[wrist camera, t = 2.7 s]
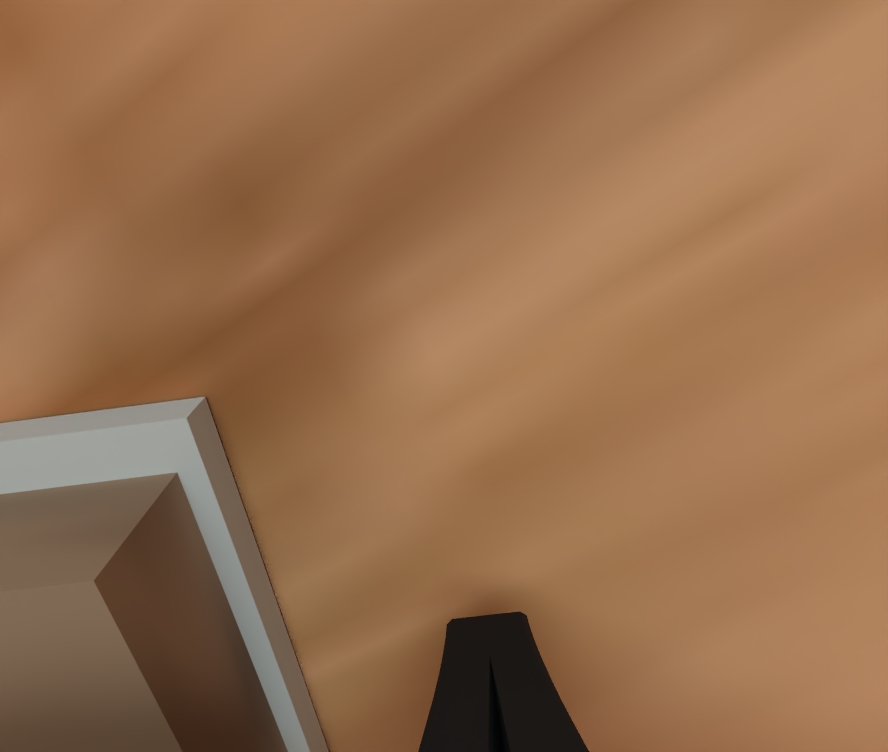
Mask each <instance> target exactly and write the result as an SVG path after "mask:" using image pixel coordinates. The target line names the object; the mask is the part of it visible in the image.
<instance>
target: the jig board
mask: <svg viewBox="0 0 888 752" xmlns="http://www.w3.org/2000/svg"><path fill="white" fill-rule="evenodd" d="M176 472H177V473H178V476H179V478H180V481H181V483H182V486H183V489H184V491H185V494H186V496H187V499H188V501H189V504H190V506H191V509H192V511H193V514H194V516H195V519H196V521H197V524H198V526H199V529H200V531H201V534H202V536H203V539H204V541H205V544H206V546H207V549H208V552H209V554H210V557H211V559H212V562H213V564H214V567H215V569H216V572H217V574H218V577H219V579H220V582H221V584H222V587H223V589H224V592H225V594H226V597H227V599H228V602H229V604H230V607H231V609H232V612H233V615H234V617H235V620H236V622H237V625H238V627H239V630H240V632H241V635H242V637H243V640H244V642H245V645H246V647H247V650H248V652H249V655H250V657H251V660H252V662H253V665H254V667H255V670H256V673H257V675H258V678H259V680H260V683H261V685H262V688H263V690H264V693H265V695H266V698H267V700H268V703H269V705H270V708H271V710H272V713H273V715H274V718H275V720H276V723H277V725H278V728H279V730H280V733H281V736H282V738H283V741H284V743H285V746H286V748H287V751H288V752H329V750H328V747H327V745H326V742H325V739H324V736H323V733H322V730H321V727H320V725H319V722H318V719H317V716H316V713H315V710H314V707H313V704H312V702H311V699H310V696H309V693H308V690H307V687H306V684H305V681H304V679H303V676H302V673H301V670H300V667H299V664H298V661H297V659H296V656H295V653H294V650H293V647H292V644H291V641H290V638H289V636H288V633H287V630H286V627H285V624H284V621H283V618H282V615H281V613H280V610H279V607H278V604H277V601H276V598H275V595H274V593H273V590H272V587H271V584H270V581H269V578H268V575H267V572H266V570H265V567H264V564H263V561H262V558H261V555H260V552H259V549H258V547H257V544H256V541H255V538H254V535H253V532H252V529H251V526H250V524H249V521H248V518H247V515H246V512H245V509H244V506H243V504H242V501H241V498H240V495H239V492H238V489H237V486H236V483H235V481H234V478H233V475H232V472H231V469H230V466H229V463H228V460H227V458H226V455H225V452H224V449H223V446H222V443H221V440H220V438H219V435H218V432H217V429H216V426H215V423H214V420H213V417H212V415H211V412H210V409H209V406H208V403H207V400H206V397H199V398H192V399H184V400H176V401H169V402H161V403H153V404H146V405H138V406H130V407H122V408H115V409H107V410H99V411H92V412H84V413H76V414H68V415H61V416H53V417H45V418H38V419H30V420H22V421H15V422H7V423H0V494H7V493H15V492H23V491H31V490H39V489H47V488H55V487H63V486H71V485H79V484H87V483H95V482H103V481H111V480H119V479H128V478H136V477H144V476H152V475H160V474H168V473H176Z"/></svg>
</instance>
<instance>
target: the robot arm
mask: <svg viewBox="0 0 888 752" xmlns="http://www.w3.org/2000/svg"><path fill="white" fill-rule="evenodd" d="M418 752H589V751H588V749H587V747H586V745H585V744H584V742H583V740H582V738H581V736H580V734H579V733H578V731H577V729H576V727H575V725H574V723H573V721H572V719H571V718H570V716H569V714H568V712H567V710H566V708H565V706H564V704H563V703H562V701H561V699H560V697H559V694H558V692H557V690H556V688H555V686H554V684H553V682H552V680H551V678H550V676H549V673H548V671H547V669H546V667H545V665H544V663H543V660H542V658H541V655H540V653H539V651H538V648H537V646H536V643H535V640H534V638H533V635H532V632H531V629H530V626H529V623H528V619H527V616H526V615H525V614H523V613H522V612H512V613H503V614H494V615H485V616H475V617H466V618H457V619H452V620H451V621H450V622H449V623H448V624H447V630H446V639H445V646H444V652H443V658H442V663H441V668H440V673H439V677H438V681H437V685H436V690H435V694H434V698H433V702H432V705H431V709H430V712H429V716H428V720H427V723H426V727H425V730H424V734H423V737H422V741H421V744H420V748H419V751H418Z"/></svg>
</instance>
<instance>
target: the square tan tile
mask: <svg viewBox="0 0 888 752" xmlns="http://www.w3.org/2000/svg"><path fill="white" fill-rule="evenodd" d="M0 752H288V751H287V748H286V746H285V743H284V741H283V738H282V736H281V733H280V730H279V728H278V725H277V723H276V720H275V718H274V715H273V713H272V710H271V708H270V705H269V703H268V700H267V698H266V695H265V693H264V690H263V688H262V685H261V683H260V680H259V678H258V675H257V673H256V670H255V667H254V665H253V662H252V660H251V657H250V655H249V652H248V650H247V647H246V645H245V642H244V640H243V637H242V635H241V632H240V630H239V627H238V625H237V622H236V620H235V617H234V615H233V612H232V609H231V607H230V604H229V602H228V599H227V597H226V594H225V592H224V589H223V587H222V584H221V582H220V579H219V577H218V574H217V572H216V569H215V567H214V564H213V562H212V559H211V557H210V554H209V552H208V549H207V546H206V544H205V541H204V539H203V536H202V534H201V531H200V529H199V526H198V524H197V521H196V519H195V516H194V514H193V511H192V509H191V506H190V504H189V501H188V499H187V496H186V494H185V491H184V489H183V486H182V483H181V481H180V478H179V476H178V473H177V472H176V473H168V474H160V475H152V476H144V477H136V478H128V479H119V480H111V481H103V482H95V483H87V484H79V485H71V486H63V487H55V488H47V489H39V490H31V491H23V492H15V493H7V494H0Z"/></svg>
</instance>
